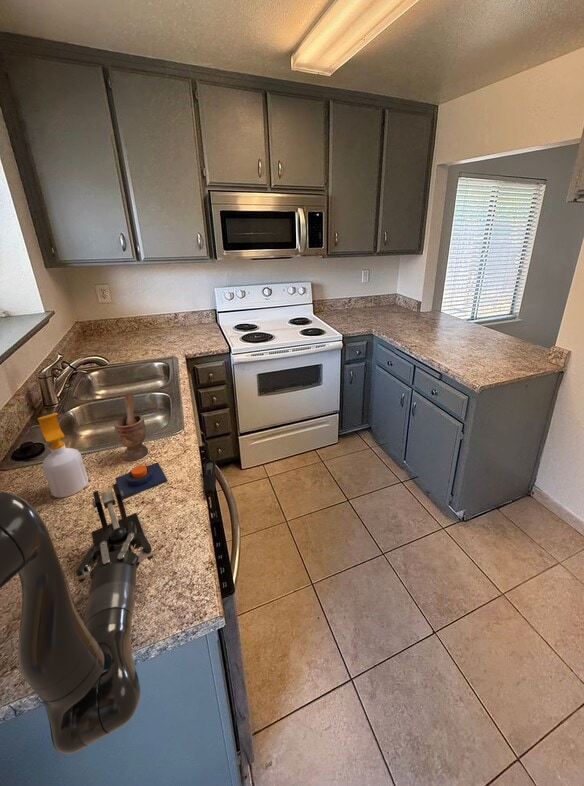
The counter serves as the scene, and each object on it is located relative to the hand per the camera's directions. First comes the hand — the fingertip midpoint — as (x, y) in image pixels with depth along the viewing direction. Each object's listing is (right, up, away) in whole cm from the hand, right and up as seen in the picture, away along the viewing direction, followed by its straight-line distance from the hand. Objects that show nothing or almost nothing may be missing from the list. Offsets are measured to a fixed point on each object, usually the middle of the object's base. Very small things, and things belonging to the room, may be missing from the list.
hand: (120, 528), depth 79 cm
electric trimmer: (+11, 0, +29) cm, 31 cm away
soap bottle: (-30, -1, +26) cm, 40 cm away
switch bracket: (-4, -7, +8) cm, 11 cm away
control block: (-9, 0, +27) cm, 28 cm away
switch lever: (-2, +1, +1) cm, 2 cm away
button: (-9, +3, +26) cm, 27 cm away
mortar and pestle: (-19, +5, +42) cm, 47 cm away
